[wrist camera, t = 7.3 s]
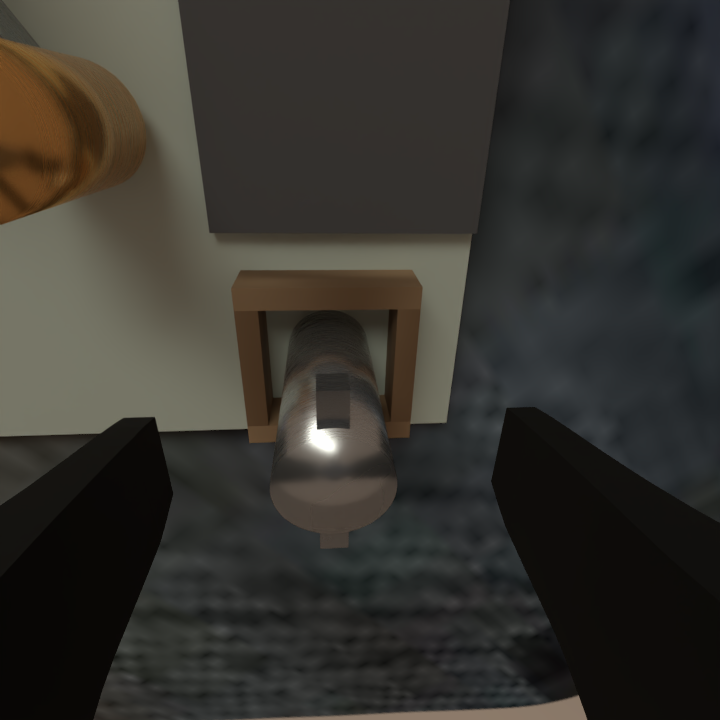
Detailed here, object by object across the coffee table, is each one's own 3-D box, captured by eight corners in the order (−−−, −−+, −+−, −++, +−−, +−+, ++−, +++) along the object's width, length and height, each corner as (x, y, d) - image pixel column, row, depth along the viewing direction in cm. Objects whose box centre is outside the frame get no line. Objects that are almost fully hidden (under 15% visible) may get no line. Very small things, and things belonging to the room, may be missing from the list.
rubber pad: (212, 229, 12) (209, 232, 12) (162, -146, 9) (156, -157, 8) (472, 230, 12) (476, 233, 12) (520, -122, 9) (528, -132, 9)
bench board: (-166, 426, 15) (-190, 442, 14) (-1418, -1486, 4) (-1765, -1804, 4) (440, 409, 16) (446, 422, 16) (621, -1010, 6) (662, -1164, 5)
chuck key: (292, 402, 15) (276, 563, 9) (285, 283, 13) (261, 402, 7) (366, 400, 15) (391, 556, 10) (369, 283, 13) (404, 398, 8)
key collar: (255, 413, 15) (249, 442, 13) (240, 270, 12) (231, 288, 11) (401, 409, 15) (409, 437, 14) (412, 269, 13) (422, 287, 12)
